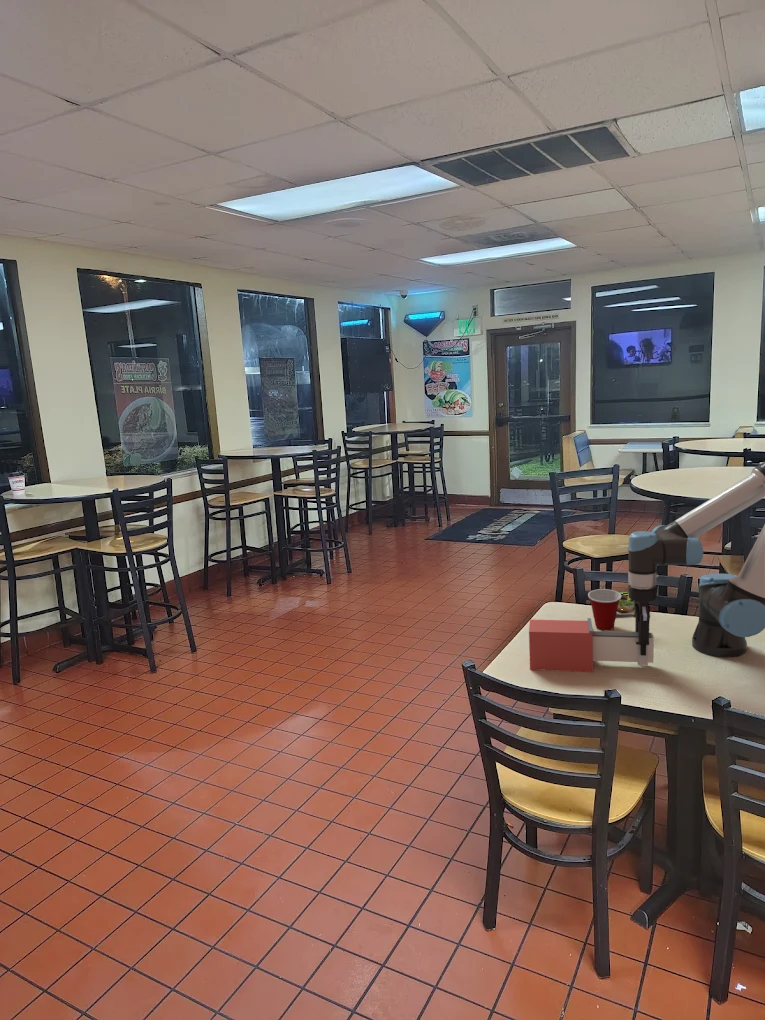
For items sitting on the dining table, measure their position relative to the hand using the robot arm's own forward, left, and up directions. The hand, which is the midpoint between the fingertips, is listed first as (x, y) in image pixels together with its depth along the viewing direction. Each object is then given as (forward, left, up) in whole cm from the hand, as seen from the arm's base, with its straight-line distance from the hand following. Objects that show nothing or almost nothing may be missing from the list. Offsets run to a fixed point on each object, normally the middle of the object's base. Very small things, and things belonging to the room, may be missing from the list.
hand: (641, 661), depth 198 cm
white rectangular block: (+4, +4, 0) cm, 6 cm away
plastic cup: (+27, -16, -2) cm, 32 cm away
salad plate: (+36, -35, -2) cm, 50 cm away
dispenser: (+16, +16, -2) cm, 23 cm away
